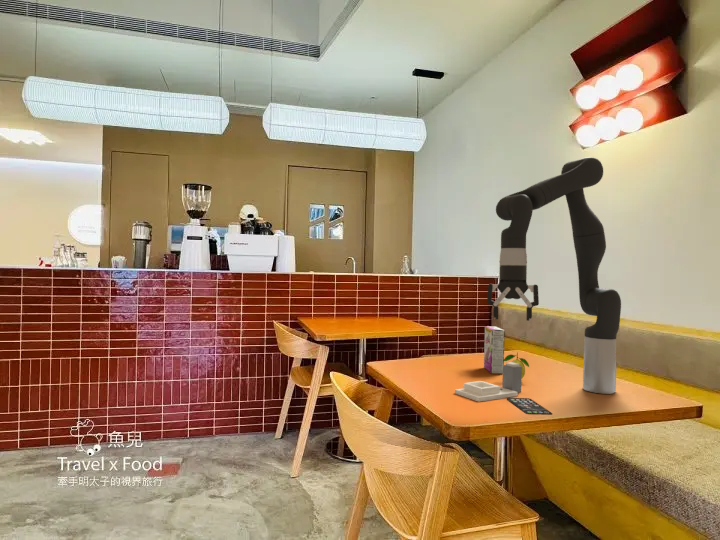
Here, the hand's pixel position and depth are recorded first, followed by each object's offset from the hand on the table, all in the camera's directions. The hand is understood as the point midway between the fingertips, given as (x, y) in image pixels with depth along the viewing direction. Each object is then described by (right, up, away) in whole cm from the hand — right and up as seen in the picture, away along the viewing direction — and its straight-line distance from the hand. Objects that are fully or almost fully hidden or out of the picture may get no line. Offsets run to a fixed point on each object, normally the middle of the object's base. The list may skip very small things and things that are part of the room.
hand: (512, 319), depth 138 cm
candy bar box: (+6, -24, +41) cm, 48 cm away
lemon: (+9, -24, +25) cm, 36 cm away
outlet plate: (-6, -23, +5) cm, 25 cm away
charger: (+3, -24, +11) cm, 26 cm away
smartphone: (+3, -24, -6) cm, 25 cm away
